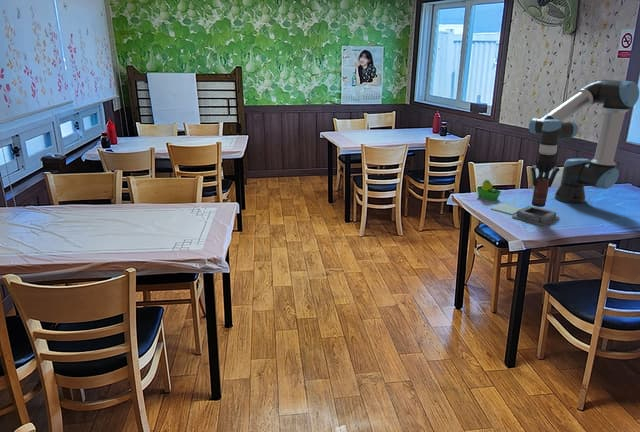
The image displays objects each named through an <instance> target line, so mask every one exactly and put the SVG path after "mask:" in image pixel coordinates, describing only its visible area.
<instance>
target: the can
mask: <svg viewBox="0 0 640 432" xmlns="http://www.w3.org/2000/svg"><path fill="white" fill-rule="evenodd" d="M549 178H550V177H548V179H544V176H543V177H542V179H539V178H538V176H536V181H537V186H536V187H534V186H533V188H534V189H533V192H532V193H533V194H532V200H531V205H532V207H538V208H544V207H545V206H546V202H547V198H548V191H549V188H550V187H549V182H550V180H549Z"/></svg>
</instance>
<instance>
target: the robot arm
mask: <svg viewBox="0 0 640 432" xmlns="http://www.w3.org/2000/svg"><path fill="white" fill-rule="evenodd" d="M639 98H640V89H639V86H638V84H637V83H636V82H634V81H629V80H615V79H614V80H613V79H612V80H611V79H600V80H597V81H594V82H591V83H589V84H587V85H585V86H584V87H581V88H580V89H578V90H577V91H576V93H575V95H573V96H572V97H570V98H569V99H567V100H566V101H564V102H563V103H561V104H560V105H558V106H557V107H556V108H554V109H553V110H551V111H550V112H549V113H547V114H545V115H544V116H542V117H540V118H532V119H531V120H530V121H529V123H528V131H529V132H530V133H531V134H536V135H540V143H539V146H538V147H539V148H538V154H537V160H536V163H535V165H532V166H529V168H530V170H531V177H532V179H531V180H532V186H533V188H534V187H536V186H537V181H536V178H537V177H538V178H539V179H542V177H544V179H548V178H549V180H550V182H549V187H548V188H551V187H552V185H553V183H554V180H555V178H556V176H557V173H558V172H559V171H560V168H559V166H556V156H557V151H558V144H559V140H565V139H567V140H568V139H571V138H574V137H576V136H578V135H577V134H578V132H579V126H578V124H577V123H576V122H574V121H567V122H565V121H566V120H568V119H570V117H572V116H573V115H574V114H576V113H577V112H579V111H581V110H582V109H583V108H587V107H590V106H592V105H593V104H602V109H603V110H604V114H603V120H602V124H601V128H600V132H599V136H598V141H597V145H596V149H595V154H594V157H593V158H592V159H591V160H590V159H588V158H580V157H579V158H569V159H566V160H565V162H564V165H563V169H562V174H561V180H560V185H559V187H558V188H557V190H556V192H555V194H554V198H555V200H556V201H560V202H564V203H570V204H583V203H585V202H586V192H585V186H589V187H592V188H596V189H600V190H608V189H610V188H612V187H613V186H614V185H615V184H616V182H617V180H618V179H619V176H620V172H619V169H618V168H616V165H617V164H616V162H615V161H614V159H615V156H616V152H617V148H618V143H619V139H620V136H621V131H622V127H623V123H624V119H625V115H626V113H627V112H629V111H630V109H631V107H634V106H635V105H636V104H637V102H638V100H639ZM536 170H538V176H537V173H536ZM551 171H552V172H551ZM550 172H551V174H550Z"/></svg>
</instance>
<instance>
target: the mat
mask: <svg viewBox="0 0 640 432" xmlns="http://www.w3.org/2000/svg"><path fill="white" fill-rule="evenodd" d="M520 209H522V207H518V206H517V207H516V206H513V205H509V204H505V203H500V204H497V205H494V206H493V207H490V210H492V211H496V212H498V213H499V212H500V213H503V214H508V215H510V216H513V215H516V214H517V211H518V210H520Z"/></svg>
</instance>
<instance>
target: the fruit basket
mask: <svg viewBox="0 0 640 432" xmlns="http://www.w3.org/2000/svg"><path fill="white" fill-rule="evenodd" d="M493 186H494V185H493V183H492V182H491V181H490V180H489V179H485V180H484V181H483V182H482V186H481V187H480V186H479V187H477V188H476V190H477V196H478V198H481V199H484V200H486V201H490V202H493V201H497V200H498V198H499V197H500V194H501V193H502V190H499V189H496V188H493Z"/></svg>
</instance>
